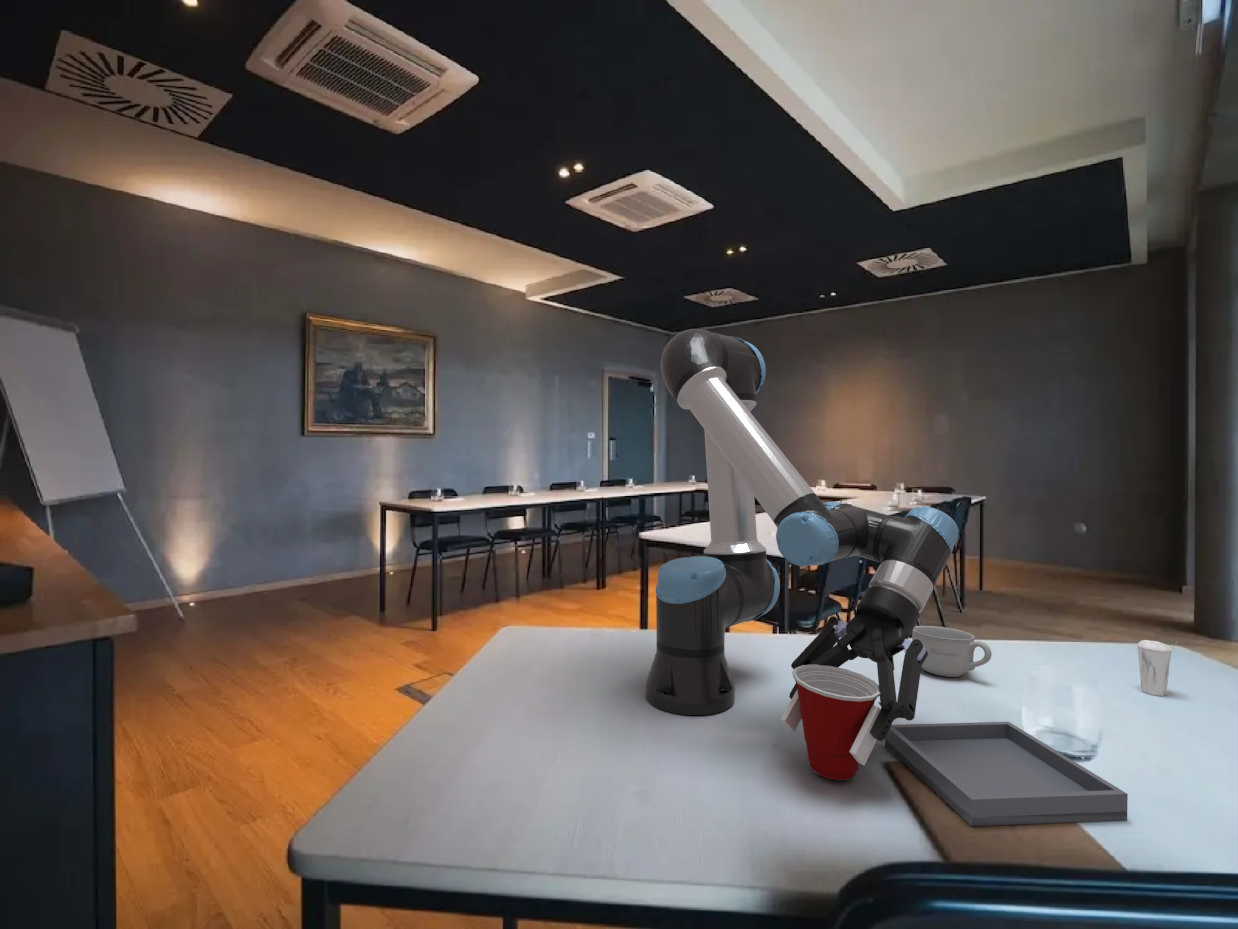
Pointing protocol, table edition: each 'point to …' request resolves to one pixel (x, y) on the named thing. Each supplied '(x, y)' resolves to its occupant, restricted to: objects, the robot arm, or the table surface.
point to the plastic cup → (833, 716)
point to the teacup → (949, 650)
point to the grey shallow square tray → (1003, 775)
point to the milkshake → (1154, 666)
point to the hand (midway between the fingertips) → (820, 741)
